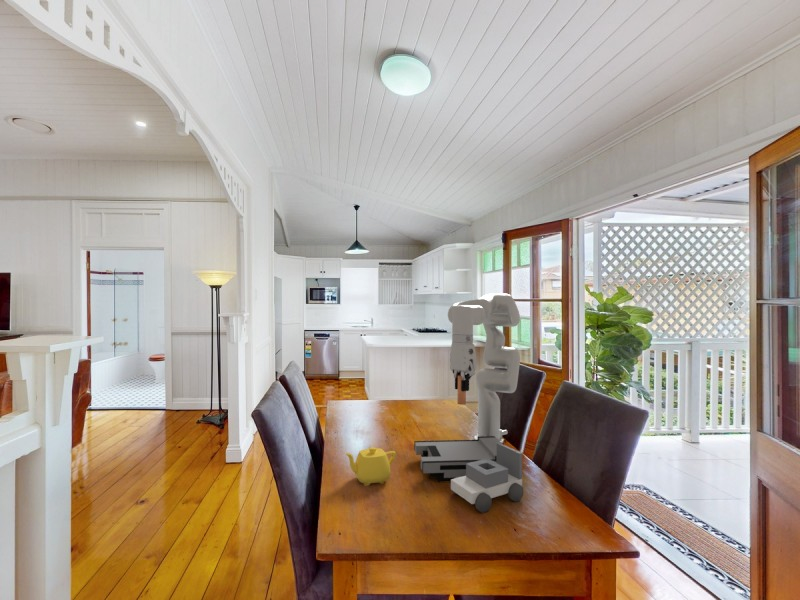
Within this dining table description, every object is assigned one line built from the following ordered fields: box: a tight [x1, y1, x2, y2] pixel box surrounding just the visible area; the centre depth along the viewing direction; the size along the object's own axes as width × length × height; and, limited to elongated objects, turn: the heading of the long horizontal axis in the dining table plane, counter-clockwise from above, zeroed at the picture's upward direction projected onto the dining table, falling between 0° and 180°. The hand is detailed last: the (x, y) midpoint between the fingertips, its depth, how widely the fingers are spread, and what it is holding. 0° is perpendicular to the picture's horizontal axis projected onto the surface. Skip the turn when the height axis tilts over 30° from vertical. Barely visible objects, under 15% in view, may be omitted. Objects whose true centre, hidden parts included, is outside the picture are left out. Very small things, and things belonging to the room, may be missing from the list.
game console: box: [413, 436, 503, 483], centre depth 137 cm, size 21×32×8 cm, turn 96°
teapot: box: [344, 446, 397, 487], centre depth 127 cm, size 18×11×11 cm, turn 110°
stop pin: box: [456, 375, 467, 406], centre depth 138 cm, size 3×3×10 cm
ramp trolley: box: [449, 443, 525, 514], centre depth 117 cm, size 20×13×14 cm, turn 119°
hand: (461, 389), depth 138 cm, fingers closed on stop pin, 3 cm apart
